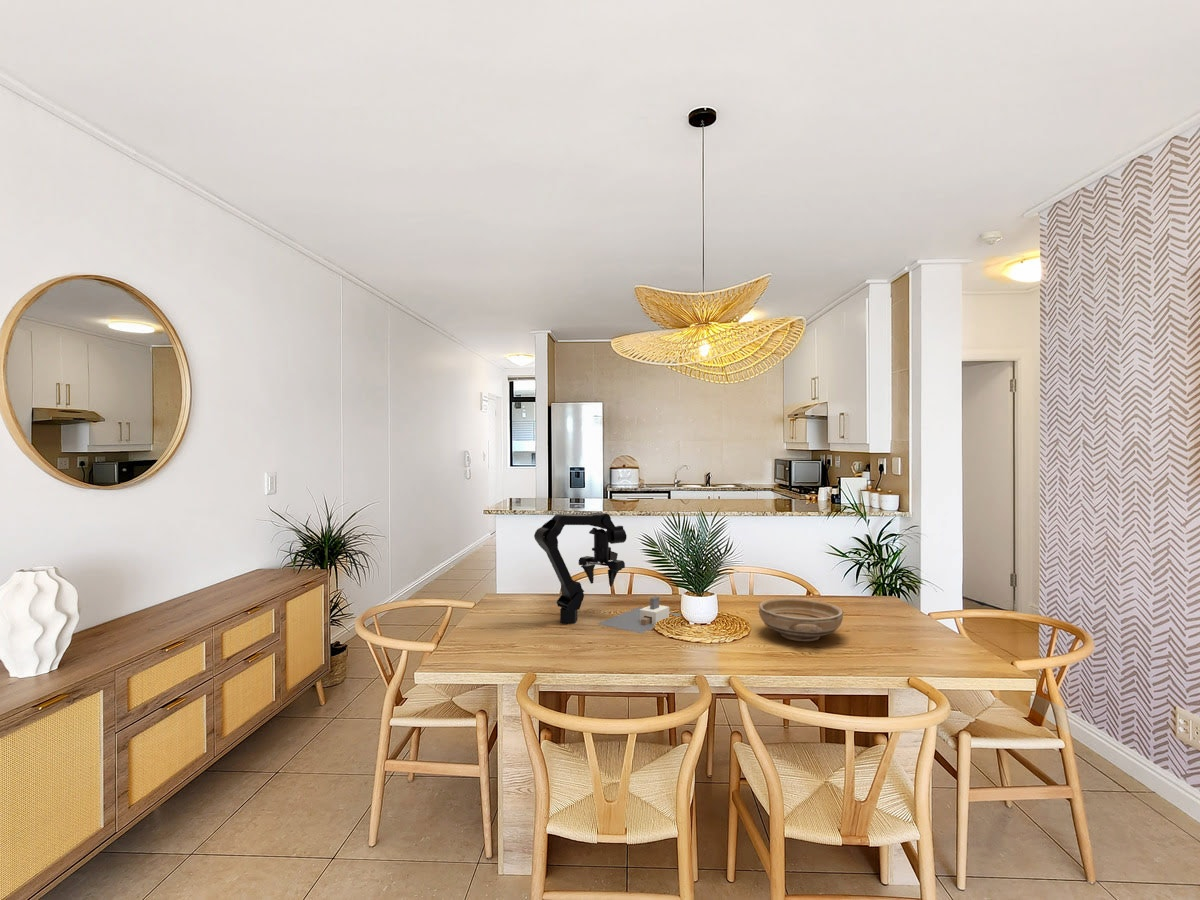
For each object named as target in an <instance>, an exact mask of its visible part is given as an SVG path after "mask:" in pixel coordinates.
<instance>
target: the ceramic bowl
mask: <svg viewBox="0 0 1200 900" xmlns="http://www.w3.org/2000/svg"><path fill="white" fill-rule="evenodd" d="M758 614H759V616H760V619H761V621H762V622H763V623H764V624H765V626H767V627H768V628H770V629H771V630H773V631H776V632H778V633H780V636H781V637H783V638H785V639H787V640H791V641H795V642H815V641H817V640H819V639H820V637H823V636H827V635H829V634H832V633H834V632H835V631H837V630H838V629H839V628H840V626H841V625H842V622H843V619H844V610H843V609H842V608H841V607H840V606H837V605H835V604H833V603H829V602H825V601H821V600H816V599H809V598H800V597H780V598H771V599H766V600H763V601H761V602H759V603H758Z"/></svg>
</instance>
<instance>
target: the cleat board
mask: <svg viewBox="0 0 1200 900" xmlns="http://www.w3.org/2000/svg"><path fill="white" fill-rule="evenodd" d="M643 608H644V607H641V606H638V607H636V608H633V609H631V610H629V611H626V612H623V613H621V614H618V615H616V616H613V617H611V618H608V619H605V620H603V621H600V622H597V623H596V625H599V626H605V627H609V628H614V629H619V630H624V631H629V632H634V633H638V634H644V633H645V632H648V631H650V630H652V629H655V628H656V627H655V625H654V624H652V617H649V616H647V617H645V618H643V619H641V622H640V609H643ZM669 614H672V615H674V616H679V617H682V616H681V613H676V612H672V611H671V612H670V611H669Z"/></svg>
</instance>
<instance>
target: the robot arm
mask: <svg viewBox="0 0 1200 900" xmlns="http://www.w3.org/2000/svg"><path fill="white" fill-rule="evenodd" d="M565 526H591V527H592V529H591V530H589V531H588V534H590V535H593V547H592V548H591V551H593V556H589V555H585V556H581V557H580V558H579V559H578V565H579V566H580V568H582V569H583V571H584V572H585V574H586V576H587V578H588V580H589V582H590V584H592V585H593V584H594V570H595V566H596V565H598V566H604V567H608V569H607V577H608V584H609V587H610V588H611V587H613V584H614V582H615V581H616V580H615V579H616V577H617V574H618V573H619V572H620V571H622V570H623V569H625V568H626V563H625V561H624V560H619V559H618V554H619V553H617V552H614V551H613V550H612V548H611V546H610V545H609V544H611V545H614V544H620V543H621V544H622V543H625V542H626V540H627V539H628V538H627V533H626V530H625V528H624V526H623V525H616V526H615V524H614V522H613V521H612V518H611V516H610V514H609V513H605V512H599V511H597V512H591V513H589V514H561V513H557V514H555V515H554V516H553V517H552V518H551V519H549V520H548V521H546V522H545V523H544V524H543V525H542V526H541V527H539V528H537V529H536V530H535V533H534V535H533V537H534V540H535V541H536V543H537V545H538V546H539V547H540V548H541V549H542V550H543V551H544V552H545V554H546V555H547V557H548V560H549V562H550V564H551V566H552V568H553V570H554V572H555V575H556V577H557V579H558V581H559V582H560V593H561V595H560V596H559V597H558V599H557V600H556V605H557V607H559V608H560V609H559V613H560V615H559V622H560V624H562V625H573V624H576V623H577V621H578V610H580V609H581V606H582V602H583V600H584V598H585V594H584V592H585V590H584V589H583V587H582V584H581V582H579V581H577V580H574V579H573V577H572V576H571V574H570V571H569V570H568V567H567V565H566V563H565V561H564V558H563V557H562V554H561V552H560V550H559V540H558V536H559V535H560V534H561V532H562V531H563V529H564V527H565Z"/></svg>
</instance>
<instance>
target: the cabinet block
mask: <svg viewBox="0 0 1200 900" xmlns="http://www.w3.org/2000/svg"><path fill="white" fill-rule="evenodd" d="M649 603H650V604H649V605H648V606H646V607H643V609H640V622H641V619H643V618H645V617H647V616H649V617H652V624H656V623H657V622H659V621H660V620H663V619H666V618H669V612H670V606H667V605H661V604H660V596H657V595H656V596H653V597H650V599H649Z"/></svg>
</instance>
